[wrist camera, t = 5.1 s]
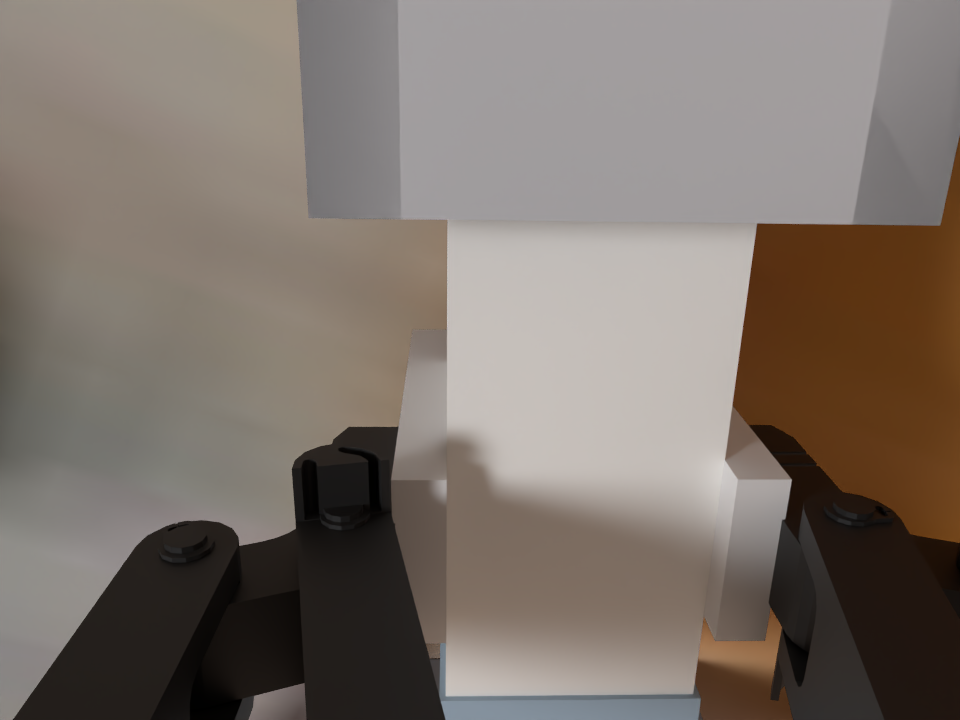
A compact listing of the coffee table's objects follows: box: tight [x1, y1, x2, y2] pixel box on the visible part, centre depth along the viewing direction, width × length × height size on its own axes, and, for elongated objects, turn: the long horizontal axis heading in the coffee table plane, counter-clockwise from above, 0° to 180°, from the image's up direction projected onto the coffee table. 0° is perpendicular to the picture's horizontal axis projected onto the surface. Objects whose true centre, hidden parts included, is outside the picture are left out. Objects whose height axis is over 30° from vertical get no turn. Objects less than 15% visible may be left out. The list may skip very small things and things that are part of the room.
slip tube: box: [439, 220, 757, 720], centre depth 13 cm, size 19×4×4 cm, turn 179°
